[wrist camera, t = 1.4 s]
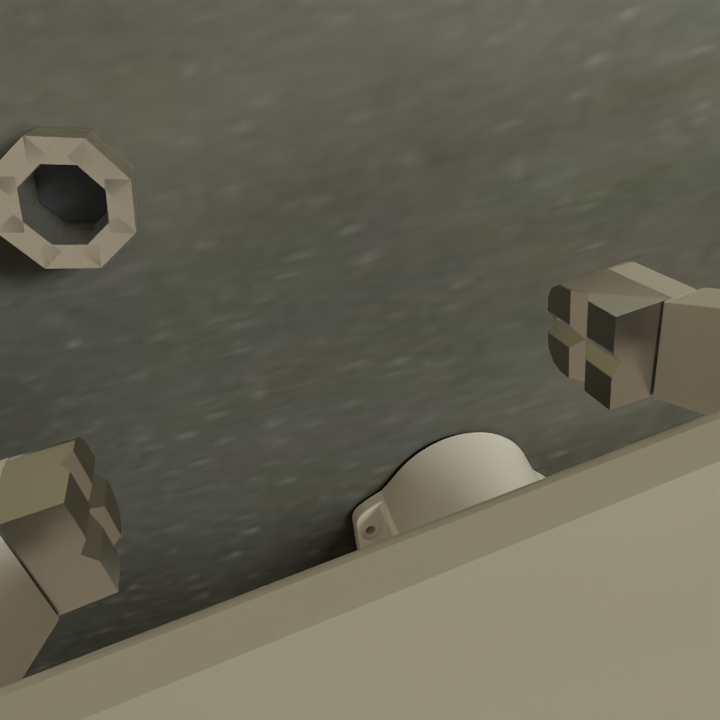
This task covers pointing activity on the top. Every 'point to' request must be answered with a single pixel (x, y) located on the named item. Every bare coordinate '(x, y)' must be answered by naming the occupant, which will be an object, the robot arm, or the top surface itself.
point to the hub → (42, 227)
